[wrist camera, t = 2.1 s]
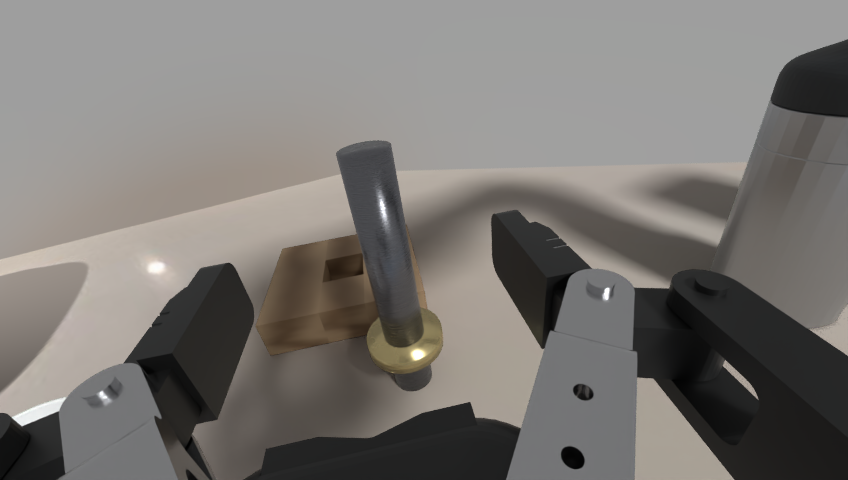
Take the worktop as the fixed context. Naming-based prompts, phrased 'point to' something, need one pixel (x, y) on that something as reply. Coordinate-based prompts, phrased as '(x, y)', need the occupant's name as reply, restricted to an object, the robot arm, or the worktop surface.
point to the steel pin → (389, 266)
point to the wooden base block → (321, 296)
